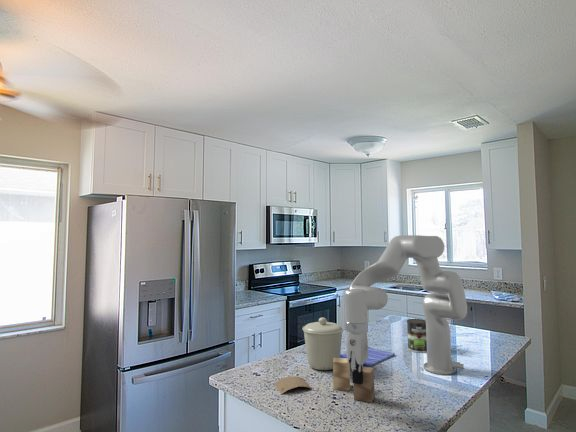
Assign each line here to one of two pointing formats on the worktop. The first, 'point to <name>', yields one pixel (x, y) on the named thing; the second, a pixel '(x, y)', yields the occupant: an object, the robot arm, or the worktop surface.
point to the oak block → (341, 374)
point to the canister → (322, 343)
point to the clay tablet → (290, 383)
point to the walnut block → (365, 386)
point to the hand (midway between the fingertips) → (357, 382)
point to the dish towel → (374, 357)
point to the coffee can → (417, 335)
